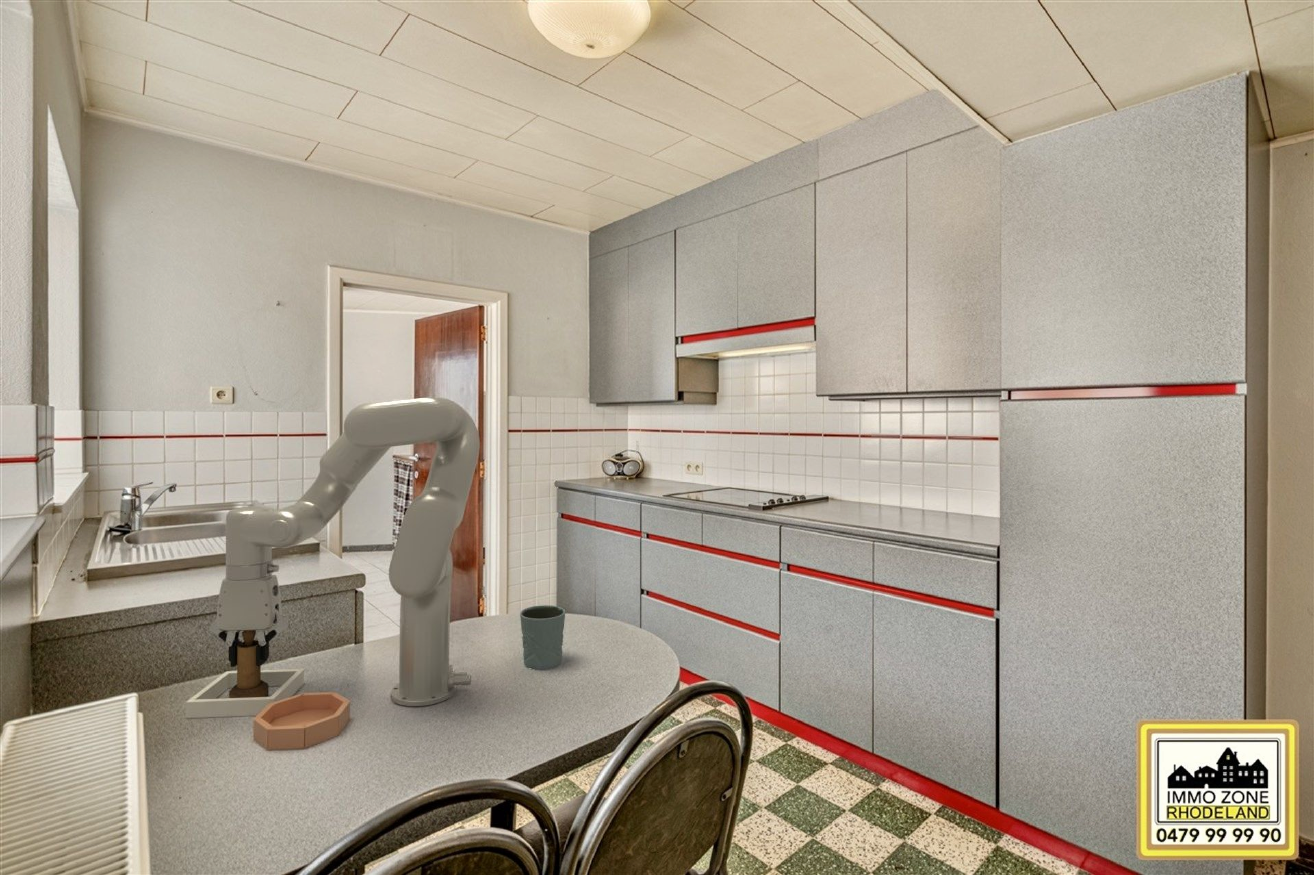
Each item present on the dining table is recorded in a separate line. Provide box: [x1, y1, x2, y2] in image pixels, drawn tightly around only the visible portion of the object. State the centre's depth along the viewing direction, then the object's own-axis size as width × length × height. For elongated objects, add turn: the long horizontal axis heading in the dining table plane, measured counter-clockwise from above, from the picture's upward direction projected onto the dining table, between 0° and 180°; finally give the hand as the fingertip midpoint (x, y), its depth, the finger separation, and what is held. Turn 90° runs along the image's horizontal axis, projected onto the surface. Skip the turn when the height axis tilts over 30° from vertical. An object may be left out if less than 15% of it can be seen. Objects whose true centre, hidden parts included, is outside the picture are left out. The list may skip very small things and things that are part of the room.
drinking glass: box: [519, 604, 566, 671], centre depth 146 cm, size 10×10×12 cm
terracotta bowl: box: [252, 691, 351, 751], centre depth 114 cm, size 14×14×4 cm
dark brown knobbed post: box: [228, 630, 270, 698], centre depth 124 cm, size 7×6×18 cm
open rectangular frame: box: [185, 668, 305, 719], centre depth 124 cm, size 15×14×3 cm
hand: (249, 663), depth 124 cm, fingers closed on dark brown knobbed post, 3 cm apart
